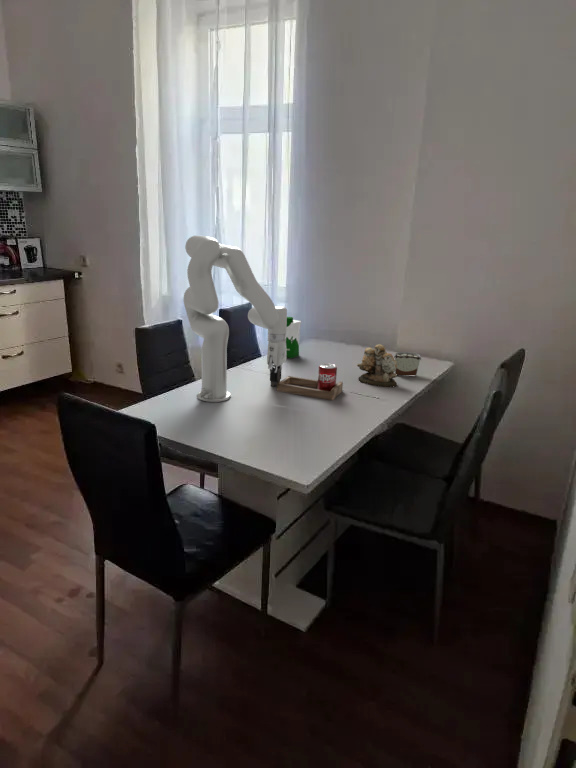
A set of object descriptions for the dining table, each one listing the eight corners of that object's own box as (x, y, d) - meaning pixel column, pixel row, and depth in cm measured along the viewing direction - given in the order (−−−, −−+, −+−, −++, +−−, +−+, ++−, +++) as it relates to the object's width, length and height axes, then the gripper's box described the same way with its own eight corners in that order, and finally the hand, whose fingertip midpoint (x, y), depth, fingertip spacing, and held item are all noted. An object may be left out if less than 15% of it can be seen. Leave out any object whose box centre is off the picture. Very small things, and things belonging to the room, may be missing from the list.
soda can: (334, 398, 208) (336, 369, 204) (315, 396, 209) (317, 367, 206) (336, 392, 215) (338, 364, 211) (318, 390, 216) (320, 362, 212)
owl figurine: (352, 383, 228) (355, 344, 223) (360, 376, 239) (363, 339, 234) (393, 389, 221) (397, 350, 216) (399, 382, 232) (403, 344, 227)
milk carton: (277, 356, 266) (278, 317, 259) (287, 352, 273) (288, 314, 267) (292, 359, 261) (294, 319, 255) (301, 355, 269) (303, 316, 262)
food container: (417, 373, 246) (420, 352, 243) (419, 377, 240) (421, 355, 237) (390, 371, 247) (392, 350, 244) (392, 375, 241) (394, 354, 238)
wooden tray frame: (332, 400, 205) (334, 383, 203) (265, 388, 215) (266, 372, 213) (342, 391, 216) (343, 374, 214) (277, 380, 226) (278, 365, 224)
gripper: (277, 342, 205) (275, 387, 211) (293, 334, 219) (291, 376, 225) (259, 339, 208) (258, 384, 213) (276, 332, 222) (275, 373, 228)
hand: (275, 379), depth 219 cm, fingers closed on wooden tray frame, 3 cm apart
